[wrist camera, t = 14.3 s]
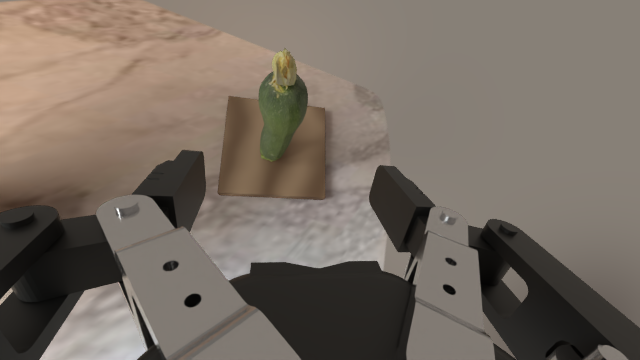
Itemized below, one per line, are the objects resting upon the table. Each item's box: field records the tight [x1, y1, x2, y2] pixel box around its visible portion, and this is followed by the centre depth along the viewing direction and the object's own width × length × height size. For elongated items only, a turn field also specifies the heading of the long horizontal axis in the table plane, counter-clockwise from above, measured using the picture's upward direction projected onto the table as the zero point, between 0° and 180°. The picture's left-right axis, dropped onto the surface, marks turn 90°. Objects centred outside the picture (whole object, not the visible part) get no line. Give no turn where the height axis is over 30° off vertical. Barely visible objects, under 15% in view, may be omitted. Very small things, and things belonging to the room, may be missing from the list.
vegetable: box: [259, 49, 308, 162], centre depth 26 cm, size 4×4×20 cm
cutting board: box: [218, 96, 325, 200], centre depth 36 cm, size 14×14×2 cm
